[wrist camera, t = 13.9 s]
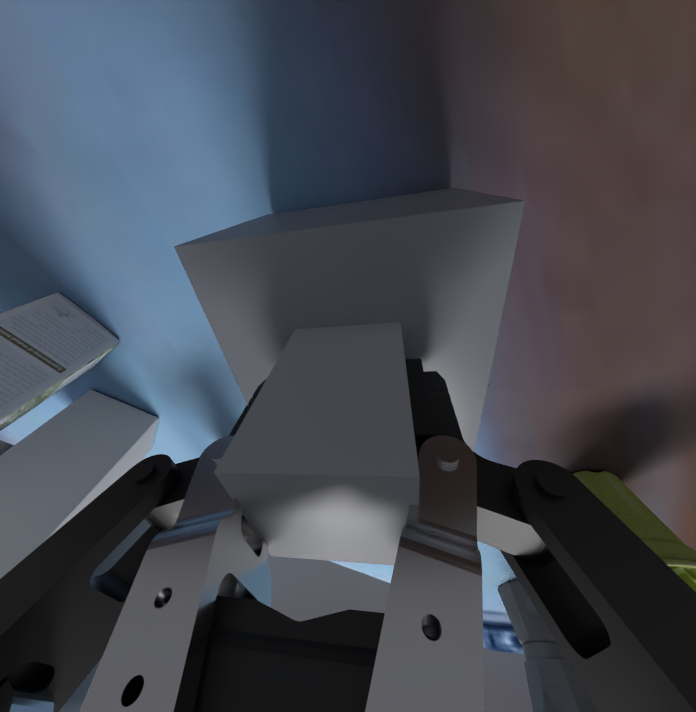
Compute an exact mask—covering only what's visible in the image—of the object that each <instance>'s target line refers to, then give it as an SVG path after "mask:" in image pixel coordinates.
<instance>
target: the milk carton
mask: <svg viewBox="0 0 696 712" xmlns="http://www.w3.org/2000/svg"><path fill="white" fill-rule="evenodd" d="M157 424H158V417H155V416H153V415H151V414H148V413H146V412H144V411H141V410H139V409H137V408H134V407H132V406H129V405H127V404H125V403H122V402H120V401H118V400H115V399H113V398H110V397H108V396H106V395H103V394H101V393H99V392H96V391H94V390H89V391H88V392H87V393H85V394H84V395H82V396H81V397H80V398H78V399H77V400H76V401H74V402H73V403H72V404H70V405H69V406H68V407H66V408H65V409H63V410H62V411H61V412H59V413H58V414H57V415H55V416H54V417H53V418H51V419H50V420H48V421H47V422H46V423H44V424H43V425H42V426H40V427H39V428H38V429H36V430H35V431H34V432H32V433H31V434H29V435H28V436H27V437H25V438H24V439H23V440H21V441H20V442H19V443H17V444H16V445H14V446H13V447H12V448H10V449H9V450H8V451H6V452H5V453H4V454H2V455H1V456H0V579H1V578H2V577H3V576H4V575H5V574H7V573H8V572H9V571H10V570H11V569H13V568H14V567H15V566H16V565H17V564H18V563H20V562H21V561H22V560H23V559H24V558H26V557H27V556H28V555H29V554H30V553H31V552H33V551H34V550H35V549H36V548H37V547H39V546H40V545H41V544H42V543H43V542H44V541H46V540H47V539H48V538H49V537H50V536H52V535H53V534H54V533H55V532H56V531H57V530H59V529H60V528H61V527H62V526H63V525H65V524H66V523H67V522H68V521H69V520H70V519H72V518H73V517H74V516H75V515H76V514H78V513H79V512H80V511H81V510H82V509H83V508H85V507H86V506H87V505H88V504H89V503H91V502H92V501H93V500H94V499H95V498H96V497H98V496H99V495H100V494H101V493H102V492H104V491H105V490H106V489H107V488H108V487H109V486H111V485H112V484H113V483H114V482H115V481H117V480H118V479H119V478H120V477H121V476H122V475H124V474H125V473H126V472H127V471H128V470H130V469H131V468H132V467H133V466H134V465H136V464H137V463H139V462H140V461H142V460H143V458H144V457H145V456H146V455H147V454H148V452H149V451H150V450H151V449H152V445H153V441H154V437H155V432H156V428H157Z"/></svg>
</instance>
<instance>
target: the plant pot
mask: <svg viewBox="0 0 696 712" xmlns="http://www.w3.org/2000/svg"><path fill="white" fill-rule="evenodd" d="M573 475H574V476H575V477H576V478H578V479H579V480H580V481H581V482H582V483H583V484H584V485H585V486H586V487H587V488H588V489H589V490H590V491H591V492H592V493H593V494H594V495H595V496H596V497H597V498H598V499H599V500H600V501H602V502H603V503H604V504H605V505H606V506H607V507H608V508H609V509H610V510H611V511H612V512H613V513H614V514H615V515H616V516H617V517H618V518H619V519H620V520H621V521H622V522H623V523H624V524H625V525H626V526H627V527H628V528H630V529H631V530H632V531H633V532H634V533H635V534H636V535H637V536H638V537H639V538H640V539H641V540H642V541H643V542H644V543H645V544H646V545H647V546H648V547H649V548H650V549H651V550H652V551H653V552H654V553H655V554H656V555H658V556H659V557H660V558H661V559H662V560H663V561H664V562H665V563H666V564H667V565H668V566H669V567H670V568H671V569H672V570H673V571H674V572H675V573H676V574H677V575H678V576H679V577H680V578H681V579H682V580H683V581H684V582H686V583H687V584H688V585H689V586H690V587H691V588H692V589H693V590H694V591H695V592H696V551H695V550H693V549H692V548H690V547H688V546H686V545H685V544H684V543H683V542H682V541H681V540H680V539H679V538H678V537H677V536H676V535H675V534H674V533H673V532H672V531H671V530H670V529H669V528H668V527H667V526H666V525H665V524H664V523H663V522H662V521H661V520H660V519H659V518H658V517H657V516H656V515H655V514H654V513H653V512H652V511H651V510H650V509H649V508H648V507H647V506H646V505H645V504H644V503H643V502H642V501H641V500H640V499H639V498H638V497H637V496H636V495H635V494H634V493H633V492H632V491H631V490H630V489H629V488H628V487H627V486H626V485H625V484H624V483H623V482H622V481H621V480H620V479H619V478H618V477H617V476H615V475H614V474H612V473H609V472H606V471H602V472H600V473H596V472H590V471H580V472H576V473H573Z"/></svg>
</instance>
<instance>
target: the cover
mask: <svg viewBox="0 0 696 712" xmlns="http://www.w3.org/2000/svg"><path fill="white" fill-rule="evenodd" d="M524 205H525V201H524V200H518V199H512V198H507V197H501V196H496V195H490V194H485V193H479V192H474V191H468V190H462V189H457V188H450V189H443V190H436V191H429V192H422V193H415V194H408V195H401V196H394V197H387V198H380V199H373V200H366V201H359V202H352V203H345V204H338V205H331V206H324V207H317V208H310V209H303V210H296V211H289V212H282V213H275V214H268V215H265V216H262V217H259V218H256V219H253V220H250V221H247V222H244V223H241V224H238V225H235V226H233V227H230V228H227V229H224V230H221V231H218V232H215V233H212V234H209V235H206V236H203V237H201V238H198V239H195V240H192V241H189V242H186V243H183V244H180V245H177V246H174V247H175V250H176V252H177V254H178V256H179V258H180V260H181V263H182V265H183V267H184V269H185V271H186V273H187V276H188V278H189V280H190V282H191V284H192V286H193V288H194V291H195V293H196V295H197V297H198V299H199V301H200V304H201V306H202V308H203V310H204V312H205V314H206V317H207V319H208V321H209V323H210V325H211V327H212V330H213V332H214V334H215V336H216V338H217V340H218V343H219V345H220V347H221V349H222V351H223V353H224V356H225V358H226V360H227V362H228V364H229V366H230V369H231V371H232V373H233V375H234V377H235V379H236V382H237V384H238V386H239V388H240V390H241V392H242V394H243V397H244V399H245V401H246V403H247V405H248V403H249V401H250V399H251V398H253V394H254V392H255V391H256V389H257V387H258V386H259V385H260V384H261V383H262V382H263V381H264V380H266V381H265V383H264V385H263V386H262V388H261V390H260V392H259V393H258V395H257V397H256V399H255V400H254V402H253V404H252V406H251V408H250V409H249V411H248V413H247V415H246V416H245V418H244V420H243V422H242V423H241V425H240V427H239V429H238V430H237V432H236V434H235V436H234V438H233V439H232V441H231V443H230V445H229V446H228V448H227V450H226V452H225V453H224V455H223V457H222V459H221V460H220V462H219V464H218V466H217V468H216V469H215V471H214V473H215V475H216V476H217V478H218V479H219V481H220V482H221V484H222V485H223V487H224V488H225V489H226V491H227V492H228V494H229V495H230V497H231V498H237V500H238V501H239V503H240V504H241V506H242V507H243V513H242V514H243V516H244V517H245V519H246V520H247V521H248V523H249V524H250V526H251V527H252V529H253V530H254V532H255V533H256V535H257V536H258V537H259V538H263V539H264V540H265V542H266V543H267V545H268V552H269V553H270V555H271V556H278V557H291V558H304V559H318V560H331V561H344V562H357V563H370V564H383V565H395V560H396V555H397V550H398V545H399V540H400V536H401V532H402V529H403V526H404V525H405V523H406V520H407V515H408V510H409V505H419V484H420V476H419V468H418V460H417V451H416V443H415V435H414V427H413V419H412V411H411V403H410V395H409V387H408V379H407V371H406V363H405V359H416V358H421V361H422V366H423V370H424V372H427V371H437V372H438V373H439V374H440V375H441V376H442V377H443V378H444V379H445V381H446V385H447V388H448V393H449V394H450V398H451V402H452V404H453V407H454V411H455V414H456V417H457V421H458V424H459V427H460V430H461V434H462V437H463V439H464V441H465V443H466V444H467V445H468V446H469V447H470V448H471V450H472V451H473V452H474V450H475V445H476V440H477V435H478V430H479V426H480V421H481V416H482V411H483V406H484V401H485V396H486V391H487V386H488V381H489V377H490V372H491V367H492V362H493V357H494V352H495V347H496V342H497V337H498V333H499V328H500V323H501V318H502V313H503V308H504V303H505V298H506V293H507V288H508V284H509V279H510V274H511V269H512V264H513V259H514V254H515V249H516V244H517V239H518V235H519V230H520V225H521V220H522V215H523V210H524Z"/></svg>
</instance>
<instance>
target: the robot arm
mask: <svg viewBox="0 0 696 712" xmlns="http://www.w3.org/2000/svg"><path fill="white" fill-rule="evenodd" d="M405 363H406V371H407V379H408V387H409V395H410V403H411V411H412V419H413V427H414V435H415V443H416V451H417V460H418V468H419V476H420V484H419V505H409V510H408V515H407V520H406V523H405V525H404V526H403V529H402V532H401V536H400V540H399V545H398V550H397V555H396V560H395V565H394V570H393V575H392V580H391V585H390V590H389V595H388V600H387V605H386V610H385V613H377V612H367V611H358V610H346V611H342V612H338V613H334V614H330V615H326V616H322V617H318V618H314V619H310V620H306V621H301V622H299V621H295V620H292V619H291V618H289V617H287V616H285V615H283V614H281V613H280V612H278V611H276V610H274V609H272V608H270V599H271V580H270V573H269V569H268V545H267V543H266V542H265V540H264V539H263V538H259V537H258V536H257V535H256V533H255V532H254V530H253V529H252V527H251V526H250V524H249V523H248V521H247V520H246V519H245V517H244V516H243V514H242V513H243V507H242V506H241V504H240V503H239V501H238V500H237V498H231V497H230V495H229V494H228V492H227V491H226V489H225V488H224V487H223V485H222V484H221V482H220V481H219V479H218V478H217V476H216V475H215V473H214V471H215V469H216V468H217V466H218V464H219V462H220V460H221V459H222V457H223V455H224V453H225V452H226V450H227V448H228V446H229V445H230V443H231V441H232V439H233V438H234V436H235V434H236V432H237V430H238V429H239V427H240V425H241V423H242V422H243V420H244V418H245V416H246V415H247V413H248V411H249V409H250V408H251V406H252V404H253V402H254V400H255V399H256V397H257V395H258V393H259V392H260V390H261V388H262V386H263V385H264V383H265V381H266V380H264V381H263V382H262V383H261V384H260V385H259V386H258V387H257V389H256V391H255V392H254V394H253V398H251V399H250V401H249V403H248V406H246V408H245V409H244V411H243V413H242V414H241V416H240V418H239V420H238V421H237V423H236V425H235V426H234V428H233V430H232V431H231V433H230V435H229V436H227V437H223V438H221V439H218V440H217V441H215V442H213V443H212V444H211V445H209V446H208V447H207V448H206V449H205V450H204V452H203V453H202V454H201V456H200V457H199V458H196V459H192V460H189V461H185V462H181V463H178V464H175V463H174V462H173V461H172V460H171V458H170V457H169V456H167V455H164V454H159V455H154V456H151V457H148V458H146V459H144V460H142V461H140V462H139V463H137V464H136V465H134V466H133V467H132V468H131V469H130V470H128V471H127V472H126V473H125V474H124V475H122V476H121V477H120V478H119V479H118V480H117V481H115V482H114V483H113V484H112V485H111V486H109V487H108V488H107V489H106V490H105V491H104V492H102V493H101V494H100V495H99V496H98V497H96V498H95V499H94V500H93V501H92V502H91V503H89V504H88V505H87V506H86V507H85V508H83V509H82V510H81V511H80V512H79V513H78V514H76V515H75V516H74V517H73V518H72V519H70V520H69V521H68V522H67V523H66V524H65V525H63V526H62V527H61V528H60V529H59V530H57V531H56V532H55V533H54V534H53V535H52V536H50V537H49V538H48V539H47V540H46V541H44V542H43V543H42V544H41V545H40V546H39V547H37V548H36V549H35V550H34V551H33V552H31V553H30V554H29V555H28V556H27V557H26V558H24V559H23V560H22V561H21V562H20V563H18V564H17V565H16V566H15V567H14V568H13V569H11V570H10V571H9V572H8V573H7V574H5V575H4V576H3V577H2V578H1V579H0V712H59V710H60V709H61V708H62V707H63V705H64V704H65V703H66V702H67V700H68V699H69V698H70V697H71V695H72V694H73V693H74V691H75V690H76V689H77V687H79V685H80V684H81V683H82V681H83V680H84V679H85V678H86V676H87V675H88V674H89V673H90V671H91V670H92V669H93V668H94V666H95V665H96V664H97V663H98V661H99V660H100V659H101V658H102V659H101V661H100V663H99V666H98V668H97V671H96V673H95V676H94V678H93V680H92V683H91V685H90V687H89V690H88V692H87V695H86V697H85V699H84V702H83V704H82V707H81V709H80V711H79V712H484V677H483V611H482V564H481V555H480V551H479V550H478V546H477V541H480V542H482V543H485V544H487V545H490V546H492V547H495V548H497V549H500V551H501V552H502V554H503V556H504V557H505V559H506V560H507V562H508V564H509V565H510V567H511V569H512V570H513V572H514V574H515V575H516V577H517V578H518V580H519V582H520V583H521V585H522V587H523V588H524V590H525V591H526V593H527V595H528V596H529V598H530V600H531V601H532V603H533V604H534V606H535V608H536V609H537V611H538V613H539V614H540V616H541V617H542V619H543V621H544V622H545V624H546V626H547V627H548V629H549V630H550V632H551V634H552V635H553V637H554V639H555V640H556V642H557V643H558V645H559V647H560V648H561V650H562V652H563V653H564V655H565V657H566V658H567V660H568V661H569V663H570V665H571V666H572V668H573V670H574V671H575V673H576V674H577V676H578V678H579V679H580V681H581V683H582V684H583V686H584V687H585V689H586V691H587V692H588V694H589V696H590V697H591V699H592V700H593V702H594V704H595V705H596V707H597V709H598V710H599V712H696V592H695V591H694V590H693V589H692V588H691V587H690V586H689V585H688V584H687V583H686V582H684V581H683V580H682V579H681V578H680V577H679V576H678V575H677V574H676V573H675V572H674V571H673V570H672V569H671V568H670V567H669V566H668V565H667V564H666V563H665V562H664V561H663V560H662V559H661V558H660V557H659V556H658V555H656V554H655V553H654V552H653V551H652V550H651V549H650V548H649V547H648V546H647V545H646V544H645V543H644V542H643V541H642V540H641V539H640V538H639V537H638V536H637V535H636V534H635V533H634V532H633V531H632V530H631V529H630V528H628V527H627V526H626V525H625V524H624V523H623V522H622V521H621V520H620V519H619V518H618V517H617V516H616V515H615V514H614V513H613V512H612V511H611V510H610V509H609V508H608V507H607V506H606V505H605V504H604V503H603V502H602V501H600V500H599V499H598V498H597V497H596V496H595V495H594V494H593V493H592V492H591V491H590V490H589V489H588V488H587V487H586V486H585V485H584V484H583V483H582V482H581V481H580V480H579V479H578V478H576V477H575V476H574V475H573V474H572V473H570V472H569V471H567V470H566V469H564V468H562V467H560V466H558V465H556V464H554V463H551V462H547V461H542V460H530V461H526V462H523V463H522V464H520V465H519V466H518V468H517V469H516V468H513V467H509V466H506V465H502V464H499V463H495V462H492V461H489V460H487V459H484V458H482V457H481V456H479V455H477V454H476V453H475V452H473V451H472V450H471V448H470V447H469V446H468V445H467V444H466V443H465V441H464V439H463V437H462V434H461V430H460V427H459V424H458V421H457V417H456V414H455V411H454V407H453V404H452V402H451V398H450V394H449V393H448V388H447V385H446V381H445V379H444V378H443V377H442V376H441V375H440V374H439V373H438V372H437V371H427V372H424V370H423V366H422V361H421V358H416V359H405ZM143 519H145V520H146V521H147V522H148V523H149V524H151V527H150V528H149V529H148V530H147V531H146V532H145V533H144V534H143V535H142V536H141V537H140V538H139V539H138V541H136V542H135V544H134V545H133V546H132V547H131V548H130V549H129V550H128V551H127V552H126V553H125V554H124V555H123V556H122V557H121V558H120V559H119V561H118V562H117V563H116V564H115V565H114V566H113V567H112V568H111V569H110V570H108V571H107V572H106V573H104V574H102V575H100V576H96V577H93V576H92V574H93V572H94V570H95V569H96V568H97V567H98V565H99V564H100V563H101V562H102V561H103V560H104V559H105V558H106V557H107V556H108V555H109V554H110V553H111V552H112V551H113V550H114V549H115V548H116V547H117V546H118V545H119V544H120V543H121V542H122V541H123V540H124V539H125V538H126V537H127V536H128V535H129V534H130V533H131V532H132V531H133V530H134V529H135V528H136V526H138V525H139V524H140V522H142V520H143Z"/></svg>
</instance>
